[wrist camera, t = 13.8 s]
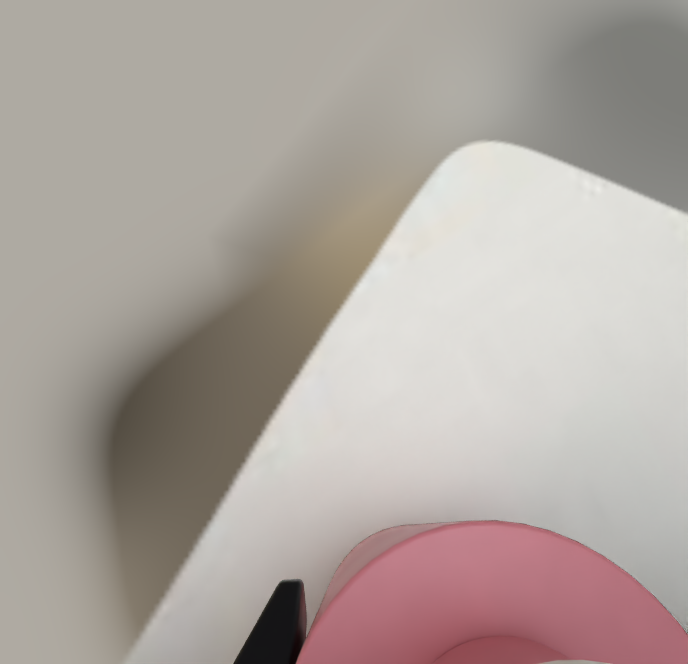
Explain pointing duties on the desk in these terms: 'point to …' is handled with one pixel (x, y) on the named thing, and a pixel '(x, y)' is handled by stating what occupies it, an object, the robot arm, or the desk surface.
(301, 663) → the lotion bottle
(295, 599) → the robot arm
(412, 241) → the desk surface
